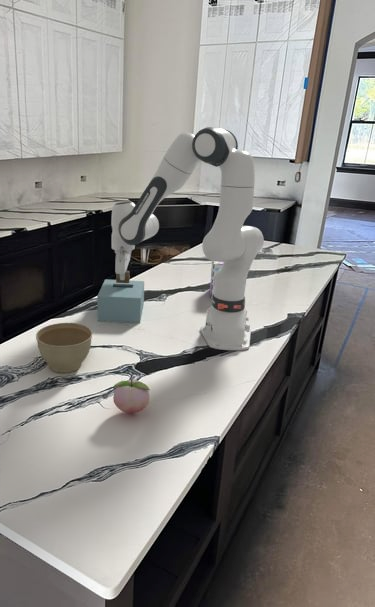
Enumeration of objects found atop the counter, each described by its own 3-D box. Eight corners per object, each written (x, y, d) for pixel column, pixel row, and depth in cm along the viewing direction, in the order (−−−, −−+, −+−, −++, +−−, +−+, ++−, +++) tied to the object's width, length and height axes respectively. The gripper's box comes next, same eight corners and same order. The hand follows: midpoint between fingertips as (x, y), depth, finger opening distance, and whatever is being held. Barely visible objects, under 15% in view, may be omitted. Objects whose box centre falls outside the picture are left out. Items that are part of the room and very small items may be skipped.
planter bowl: (37, 381, 129) (34, 347, 125) (39, 355, 143) (36, 324, 139) (94, 376, 133) (94, 343, 129) (90, 351, 148) (90, 321, 144)
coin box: (140, 322, 172) (140, 298, 168) (97, 321, 171) (97, 296, 168) (143, 303, 190) (144, 281, 187) (105, 302, 190) (105, 279, 186)
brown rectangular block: (128, 283, 179) (129, 272, 177) (116, 282, 178) (116, 271, 177) (129, 281, 180) (129, 270, 179) (116, 281, 180) (116, 270, 179)
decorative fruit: (150, 403, 122) (151, 371, 118) (148, 422, 114) (149, 387, 111) (114, 402, 121) (114, 369, 118) (111, 421, 114) (110, 386, 110)
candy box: (223, 300, 200) (226, 264, 194) (210, 299, 200) (213, 263, 194) (222, 289, 213) (225, 255, 207) (209, 289, 213) (212, 255, 207)
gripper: (128, 251, 164) (128, 287, 169) (133, 238, 183) (133, 271, 188) (111, 250, 164) (111, 286, 169) (118, 237, 183) (118, 270, 188)
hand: (123, 278), depth 179 cm, fingers closed on brown rectangular block, 2 cm apart
